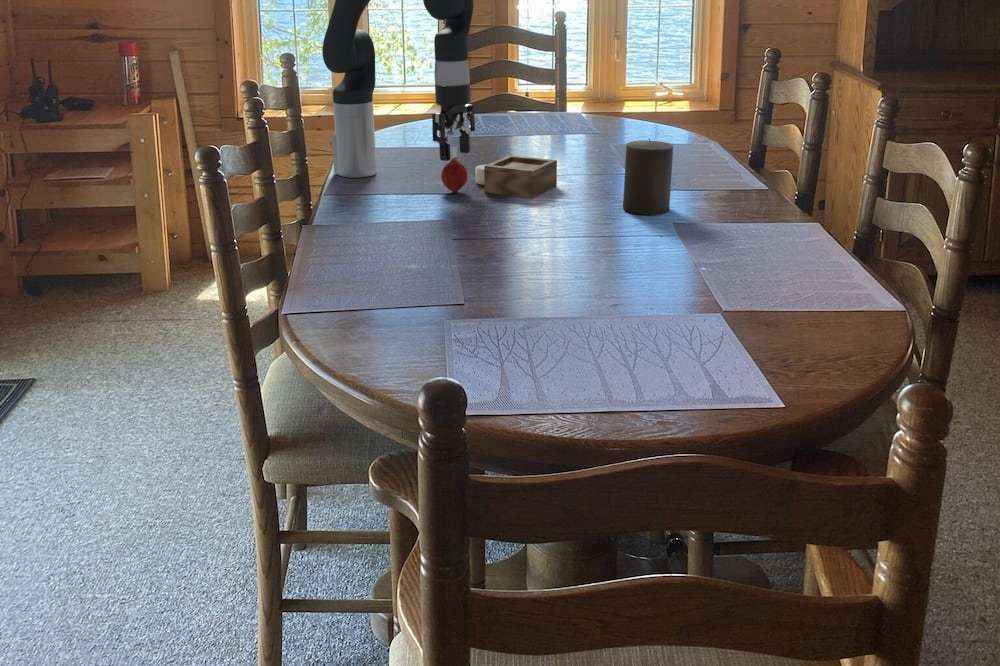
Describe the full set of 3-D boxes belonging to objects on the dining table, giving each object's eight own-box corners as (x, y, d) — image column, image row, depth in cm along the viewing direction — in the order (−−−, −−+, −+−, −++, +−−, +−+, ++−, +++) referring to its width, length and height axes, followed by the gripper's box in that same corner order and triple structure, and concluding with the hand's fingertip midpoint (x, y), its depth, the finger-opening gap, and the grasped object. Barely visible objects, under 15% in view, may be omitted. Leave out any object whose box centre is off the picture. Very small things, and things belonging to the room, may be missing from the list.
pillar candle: (640, 218, 216) (644, 144, 210) (613, 206, 224) (617, 135, 218) (679, 212, 220) (684, 140, 214) (651, 201, 228) (655, 131, 222)
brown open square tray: (484, 192, 236) (484, 165, 234) (509, 180, 246) (509, 155, 244) (532, 198, 231) (533, 171, 229) (556, 186, 241) (556, 160, 239)
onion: (464, 196, 233) (463, 160, 230) (438, 195, 234) (437, 159, 231) (470, 189, 239) (469, 154, 236) (445, 188, 240) (444, 153, 237)
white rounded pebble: (470, 183, 244) (470, 168, 243) (483, 178, 249) (483, 163, 248) (493, 186, 242) (493, 171, 240) (506, 181, 247) (505, 166, 245)
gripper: (454, 76, 235) (456, 149, 241) (419, 85, 223) (423, 161, 229) (483, 77, 232) (485, 151, 237) (450, 87, 220) (453, 164, 226)
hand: (455, 156), depth 233 cm, fingers open, 8 cm apart
